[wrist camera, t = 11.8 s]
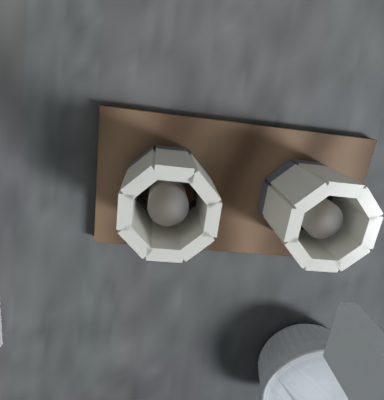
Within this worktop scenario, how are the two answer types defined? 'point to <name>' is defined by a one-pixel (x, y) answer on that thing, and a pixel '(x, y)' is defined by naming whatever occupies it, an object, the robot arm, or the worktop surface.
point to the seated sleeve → (305, 200)
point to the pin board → (219, 172)
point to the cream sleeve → (168, 235)
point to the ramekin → (297, 366)
